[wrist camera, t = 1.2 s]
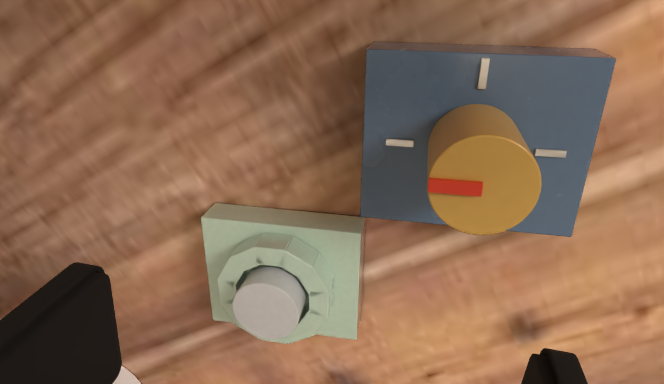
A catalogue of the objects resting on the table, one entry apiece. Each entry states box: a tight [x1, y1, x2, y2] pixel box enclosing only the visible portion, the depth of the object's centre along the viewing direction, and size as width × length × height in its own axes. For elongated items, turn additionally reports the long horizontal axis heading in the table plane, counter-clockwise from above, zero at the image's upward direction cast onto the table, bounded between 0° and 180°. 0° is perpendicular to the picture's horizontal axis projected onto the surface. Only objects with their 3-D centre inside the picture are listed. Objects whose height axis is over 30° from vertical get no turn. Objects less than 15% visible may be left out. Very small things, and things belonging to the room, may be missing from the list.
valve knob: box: [427, 104, 542, 235], centre depth 21 cm, size 4×4×5 cm
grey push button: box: [232, 267, 306, 339], centre depth 28 cm, size 4×4×2 cm
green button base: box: [201, 203, 365, 344], centre depth 30 cm, size 10×8×4 cm
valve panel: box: [360, 42, 616, 237], centre depth 25 cm, size 11×9×3 cm
